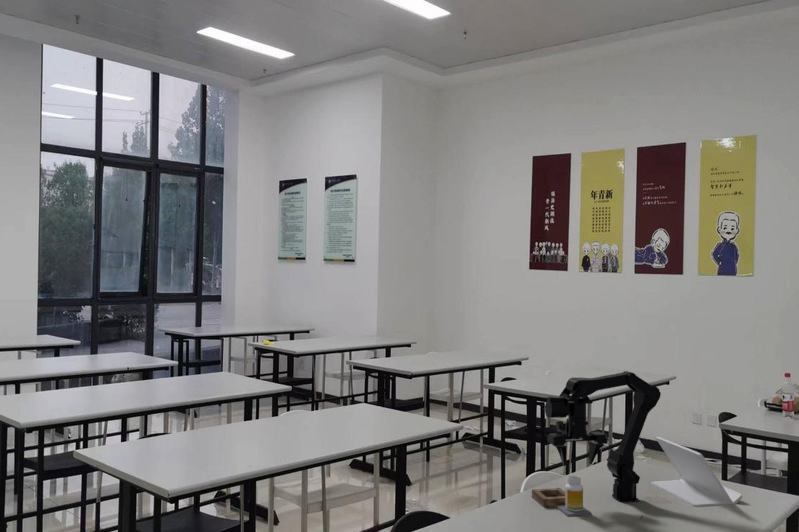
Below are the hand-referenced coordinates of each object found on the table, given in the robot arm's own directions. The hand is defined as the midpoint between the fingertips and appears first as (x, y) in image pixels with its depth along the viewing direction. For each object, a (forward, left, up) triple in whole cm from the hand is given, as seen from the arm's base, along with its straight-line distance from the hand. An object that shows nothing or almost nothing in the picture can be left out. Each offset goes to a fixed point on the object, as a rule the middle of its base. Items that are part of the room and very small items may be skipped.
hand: (577, 464), depth 218 cm
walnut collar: (+8, -2, -12) cm, 15 cm away
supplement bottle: (+5, +8, -12) cm, 15 cm away
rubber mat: (+5, +8, -12) cm, 15 cm away
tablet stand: (-44, -2, -12) cm, 46 cm away
